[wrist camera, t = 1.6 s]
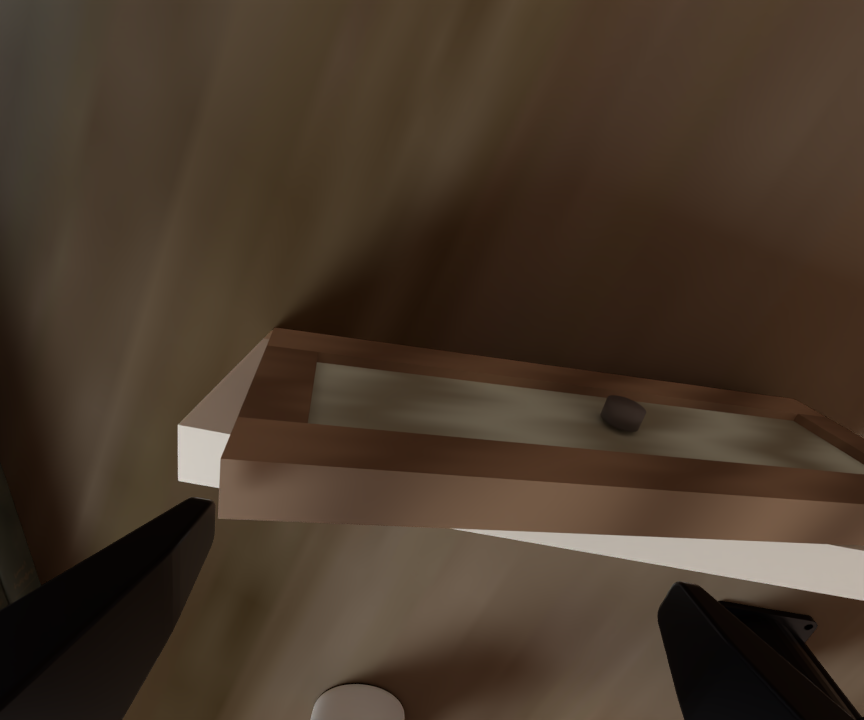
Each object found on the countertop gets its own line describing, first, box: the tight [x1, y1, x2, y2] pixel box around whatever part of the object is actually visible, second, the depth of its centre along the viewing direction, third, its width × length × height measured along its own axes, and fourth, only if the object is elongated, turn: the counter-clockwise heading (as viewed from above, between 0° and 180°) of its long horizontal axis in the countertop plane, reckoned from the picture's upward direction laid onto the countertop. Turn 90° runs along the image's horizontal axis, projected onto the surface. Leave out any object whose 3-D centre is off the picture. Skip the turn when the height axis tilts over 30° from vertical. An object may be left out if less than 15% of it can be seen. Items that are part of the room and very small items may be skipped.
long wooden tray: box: [178, 330, 864, 601], centre depth 19 cm, size 26×6×8 cm, turn 78°
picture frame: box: [218, 327, 864, 546], centre depth 15 cm, size 22×2×7 cm, turn 78°
